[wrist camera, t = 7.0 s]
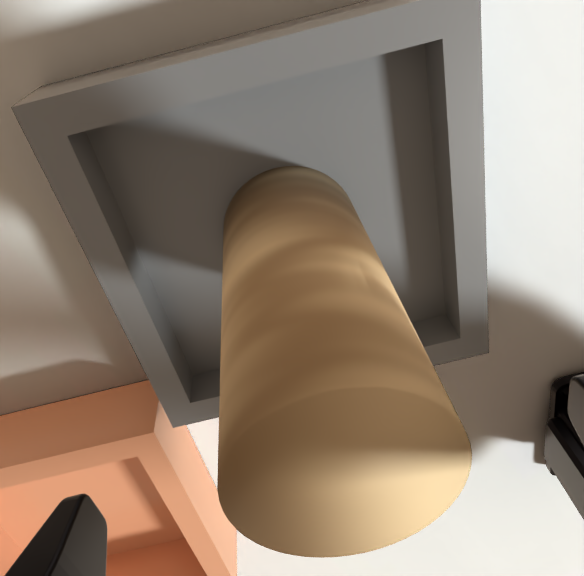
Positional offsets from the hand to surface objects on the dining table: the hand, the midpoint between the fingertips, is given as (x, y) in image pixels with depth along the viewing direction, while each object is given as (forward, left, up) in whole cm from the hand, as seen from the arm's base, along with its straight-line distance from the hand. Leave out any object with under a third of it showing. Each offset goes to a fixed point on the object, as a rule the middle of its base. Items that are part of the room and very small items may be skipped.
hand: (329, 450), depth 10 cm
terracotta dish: (+12, +11, -10) cm, 19 cm away
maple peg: (0, 0, -9) cm, 9 cm away
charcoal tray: (0, 0, -10) cm, 10 cm away
